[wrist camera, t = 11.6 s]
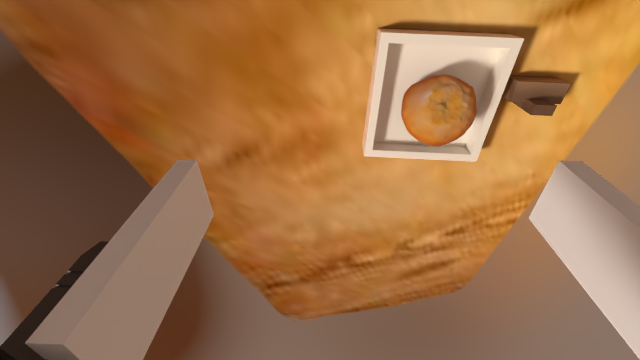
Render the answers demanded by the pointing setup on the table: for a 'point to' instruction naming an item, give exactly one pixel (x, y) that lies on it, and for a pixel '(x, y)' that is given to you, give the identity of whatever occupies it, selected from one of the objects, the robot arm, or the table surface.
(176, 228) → the robot arm
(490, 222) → the table surface
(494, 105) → the dish
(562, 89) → the block
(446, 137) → the fruit
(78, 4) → the table surface
